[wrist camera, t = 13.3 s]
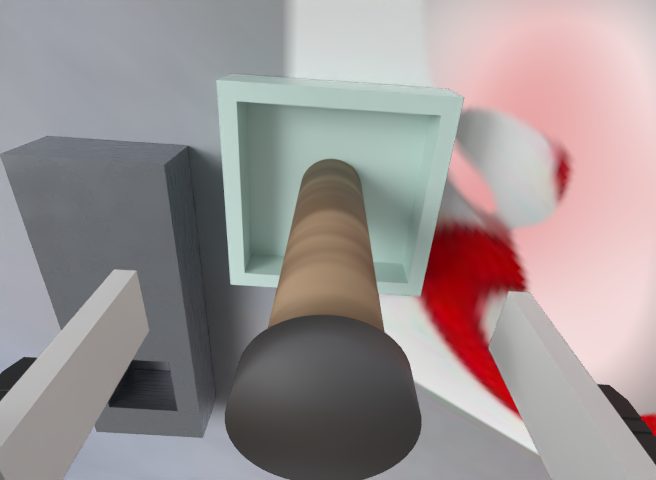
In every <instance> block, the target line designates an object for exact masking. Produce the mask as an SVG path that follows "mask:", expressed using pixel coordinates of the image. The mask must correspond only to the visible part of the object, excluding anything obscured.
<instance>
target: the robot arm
mask: <svg viewBox="0 0 656 480" xmlns="http://www.w3.org/2000/svg"><path fill="white" fill-rule="evenodd" d="M148 332H149V326H148V322H147V317H146V312H145V308H144V303H143V298H142V294H141V289H140V285H139V280H138V275H137V271H134V270H116V269H114V270H113V271H112V272H111V274H110V275H109V276H108V277H107V278H106V279H105V281H104V282H103V283H102V284H101V285H100V286H99V288H98V289H97V290H96V291H95V292H94V293H93V294H92V296H91V297H90V298H89V299H88V300H87V301H86V303H85V304H84V305H83V306H82V307H81V308H80V310H79V311H78V312H77V313H76V314H75V315H74V317H73V318H72V319H71V320H70V321H69V322H68V323H67V325H66V326H65V327H64V328H63V329H62V330H61V332H60V333H59V334H58V335H57V336H56V337H55V339H54V340H53V341H52V342H51V343H50V344H49V345H48V347H47V348H46V349H45V350H44V351H43V352H42V354H41V355H40V356H39V357H38V358H31V357H23V358H22V359H20V360H19V361H17V362H16V363H14V364H13V365H11V366H10V367H9V368H7V369H6V370H4V371H3V372H2V373H1V374H0V480H63V478H64V476H65V475H66V473H67V471H68V470H69V468H70V466H71V464H72V463H73V461H74V459H75V457H76V456H77V454H78V452H79V451H80V449H81V447H82V445H83V444H84V442H85V440H86V439H87V437H88V435H89V433H90V432H91V430H92V428H93V427H94V425H95V423H96V421H97V420H98V418H99V416H100V414H101V413H102V411H103V409H104V408H105V406H106V404H107V402H108V401H109V399H110V397H111V396H112V394H113V392H114V390H115V389H116V387H117V385H118V384H119V382H120V380H121V378H122V377H123V375H124V373H125V371H126V370H127V368H128V366H129V365H130V363H131V361H132V359H133V358H134V356H135V354H136V353H137V351H138V349H139V347H140V346H141V344H142V342H143V341H144V339H145V337H146V335H147V334H148ZM488 348H489V351H490V353H491V355H492V357H493V359H494V361H495V363H496V365H497V367H498V369H499V371H500V374H501V376H502V378H503V380H504V382H505V384H506V386H507V388H508V390H509V392H510V394H511V397H512V399H513V401H514V403H515V405H516V407H517V409H518V411H519V413H520V415H521V417H522V420H523V422H524V424H525V426H526V428H527V430H528V432H529V434H530V436H531V438H532V440H533V443H534V445H535V447H536V449H537V451H538V453H539V455H540V457H541V459H542V461H543V463H544V465H545V468H546V470H547V472H548V474H549V476H550V478H551V480H656V436H653V434H652V433H653V432H652V431H651V430H650V428H649V427H648V426H647V424H646V423H645V422H644V421H642V420H641V417H640V415H639V414H638V413H637V412H636V410H635V409H634V408H633V406H632V405H631V404H630V403H629V401H628V400H627V399H626V398H624V397H623V396H622V395H621V394H619V393H618V392H617V391H616V390H615V389H613V388H612V387H611V386H610V385H600V384H596V383H595V381H594V380H593V378H592V377H591V376H590V374H589V373H588V372H587V370H586V369H585V367H584V366H583V365H582V364H581V362H580V361H579V359H578V358H577V356H576V355H575V354H574V352H573V351H572V350H571V348H570V347H569V346H568V344H567V343H566V341H565V340H564V339H563V337H562V336H561V335H560V333H559V332H558V331H557V329H556V328H555V326H554V325H553V323H552V322H551V321H550V319H549V318H548V317H547V315H546V314H545V312H544V311H543V310H542V308H541V307H540V306H539V304H538V303H537V302H536V300H535V299H534V297H533V296H532V295H531V293H530V292H514V291H509V292H508V295H507V297H506V300H505V303H504V306H503V308H502V311H501V314H500V317H499V319H498V322H497V325H496V328H495V330H494V333H493V336H492V339H491V341H490V344H489V347H488Z"/></svg>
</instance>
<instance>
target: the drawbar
mask: <svg viewBox="0 0 656 480" xmlns="http://www.w3.org/2000/svg"><path fill="white" fill-rule="evenodd" d="M0 156H1V159H2V162H3V164H4V167H5V170H6V173H7V176H8V179H9V182H10V185H11V187H12V190H13V193H14V196H15V199H16V202H17V205H18V208H19V210H20V213H21V216H22V219H23V222H24V225H25V228H26V230H27V233H28V236H29V239H30V242H31V245H32V248H33V251H34V253H35V256H36V259H37V262H38V265H39V268H40V271H41V274H42V276H43V279H44V282H45V285H46V288H47V291H48V294H49V296H50V299H51V302H52V305H53V308H54V311H55V314H56V317H57V319H58V322H59V325H60V328H61V330H62V329H63V328H64V327H65V326H66V325H67V323H68V322H69V321H70V320H71V319H72V318H73V317H74V315H75V314H76V313H77V312H78V311H79V310H80V308H81V307H82V306H83V305H84V304H85V303H86V301H87V300H88V299H89V298H90V297H91V296H92V294H93V293H94V292H95V291H96V290H97V289H98V288H99V286H100V285H101V284H102V283H103V282H104V281H105V279H106V278H107V277H108V276H109V275H110V274H111V272H112V271H113V270H114V269H116V270H134V271H137V275H138V280H139V285H140V289H141V294H142V298H143V303H144V308H145V312H146V317H147V322H148V326H149V332H148V334H147V335H146V337H145V339H144V341H143V342H142V344H141V346H140V347H139V349H138V351H137V353H136V354H135V356H134V358H133V359H132V360H142V361H159V362H169V366H170V371H156V370H140V369H132V366H131V363H130V365H129V366H128V368H127V370H126V371H125V373H124V375H123V377H122V378H121V380H120V382H119V384H118V385H117V387H116V389H115V390H114V392H113V394H112V396H111V397H110V399H109V401H108V402H107V404H106V406H105V408H104V409H103V411H102V413H101V414H100V416H99V418H98V420H97V421H96V423H95V425H94V426H95V428H96V431H97V432H112V433H129V434H147V435H164V436H182V437H200V438H203V436H204V433H205V430H206V427H207V424H208V421H209V418H210V415H211V412H212V408H213V405H214V402H215V399H216V396H215V387H214V378H213V369H212V360H211V351H210V342H209V333H208V324H207V315H206V306H205V296H204V287H203V278H202V269H201V260H200V251H199V242H198V233H197V224H196V215H195V206H194V197H193V188H192V179H191V170H190V161H189V152H188V146H186V145H171V144H156V143H141V142H126V141H112V140H97V139H82V138H67V137H53V136H46V137H43V138H41V139H38V140H36V141H33V142H30V143H28V144H25V145H22V146H20V147H17V148H14V149H12V150H9V151H7V152H4V153H1V154H0Z"/></svg>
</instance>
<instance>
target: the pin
mask: <svg viewBox="0 0 656 480" xmlns="http://www.w3.org/2000/svg"><path fill="white" fill-rule="evenodd" d="M225 425H226V430H227V433H228V435H229V438H230V440H231V441H232V443H233V444H234V446H235V447H236V448H237V450H238V451H239V452H240V453H241V454H242V455H243V456H244V457H245V458H246V459H248V460H249V461H250V462H252V463H253V464H255V465H256V466H258V467H260V468H261V469H263V470H265V471H267V472H269V473H272V474H274V475H277V476H280V477H283V478H286V479H290V480H363V479H366V478H369V477H373V476H375V475H378V474H380V473H382V472H384V471H386V470H388V469H390V468H392V467H393V466H395V465H396V464H398V463H399V462H400V461H401V460H402V459H404V458H405V457H406V456H407V455H408V454H409V452H410V451H411V450H412V449H413V447H414V446H415V444H416V442H417V440H418V438H419V435H420V431H421V413H420V409H419V404H418V400H417V395H416V390H415V386H414V381H413V377H412V372H411V368H410V363H409V361H408V359H407V357H406V355H405V353H404V352H403V350H402V349H401V347H400V346H399V345H398V344H397V343H396V342H395V341H394V340H393V339H392V338H391V337H390V336H388V335H387V334H386V333H384V327H383V320H382V314H381V307H380V301H379V295H378V288H377V282H376V276H375V269H374V263H373V256H372V250H371V244H370V237H369V231H368V225H367V218H366V212H365V205H364V199H363V193H362V186H361V181H360V178H359V175H358V174H357V172H356V171H355V169H354V168H353V167H352V166H350V165H349V164H348V163H346V162H344V161H341V160H338V159H324V160H320V161H318V162H316V163H314V164H313V165H311V166H310V167H309V168H308V169H307V170H306V172H305V173H304V175H303V178H302V181H301V185H300V190H299V194H298V198H297V203H296V207H295V212H294V216H293V220H292V225H291V229H290V234H289V238H288V242H287V247H286V251H285V256H284V260H283V264H282V269H281V273H280V278H279V282H278V286H277V291H276V295H275V300H274V304H273V309H272V313H271V317H270V322H269V326H268V329H266V330H265V331H263V332H262V333H260V334H259V335H258V336H257V337H255V338H254V339H253V340H252V341H251V343H250V344H249V345H248V346H247V348H246V349H245V351H244V352H243V354H242V356H241V359H240V361H239V365H238V368H237V372H236V375H235V378H234V382H233V385H232V389H231V392H230V396H229V399H228V403H227V406H226V411H225Z"/></svg>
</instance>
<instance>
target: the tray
mask: <svg viewBox="0 0 656 480" xmlns="http://www.w3.org/2000/svg"><path fill="white" fill-rule="evenodd" d="M216 83H217V97H218V112H219V126H220V140H221V155H222V169H223V184H224V198H225V212H226V227H227V241H228V256H229V270H230V285H246V286H262V287H277V286H278V282H279V278H280V273H281V269H282V264H283V260H284V256H285V251H286V247H287V242H288V238H289V234H290V229H291V225H292V220H293V216H294V212H295V207H296V203H297V198H298V194H299V190H300V185H301V181H302V178H303V175H304V173H305V172H306V170H307V169H308V168H309V167H310V166H311V165H313V164H314V163H316V162H318V161H320V160H324V159H338V160H341V161H344V162H346V163H348V164H349V165H350V166H352V167H353V168H354V169H355V171H356V172H357V174H358V175H359V178H360V181H361V186H362V193H363V199H364V205H365V212H366V218H367V225H368V231H369V237H370V244H371V250H372V256H373V263H374V269H375V276H376V282H377V288H378V294H389V295H405V296H421V291H422V286H423V282H424V277H425V273H426V268H427V264H428V259H429V255H430V250H431V246H432V241H433V237H434V232H435V228H436V223H437V219H438V214H439V209H440V205H441V200H442V196H443V191H444V187H445V182H446V178H447V173H448V169H449V164H450V159H451V155H452V151H453V146H454V141H455V137H456V132H457V128H458V123H459V119H460V114H461V110H462V105H463V101H464V97H463V96H461V95H459V94H457V93H455V92H454V91H452V90H450V89H442V88H428V87H414V86H399V85H385V84H371V83H357V82H343V81H329V80H314V79H300V78H286V77H272V76H258V75H244V74H228V75H226V76H224V77H222V78H219V79H217V80H216Z"/></svg>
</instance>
